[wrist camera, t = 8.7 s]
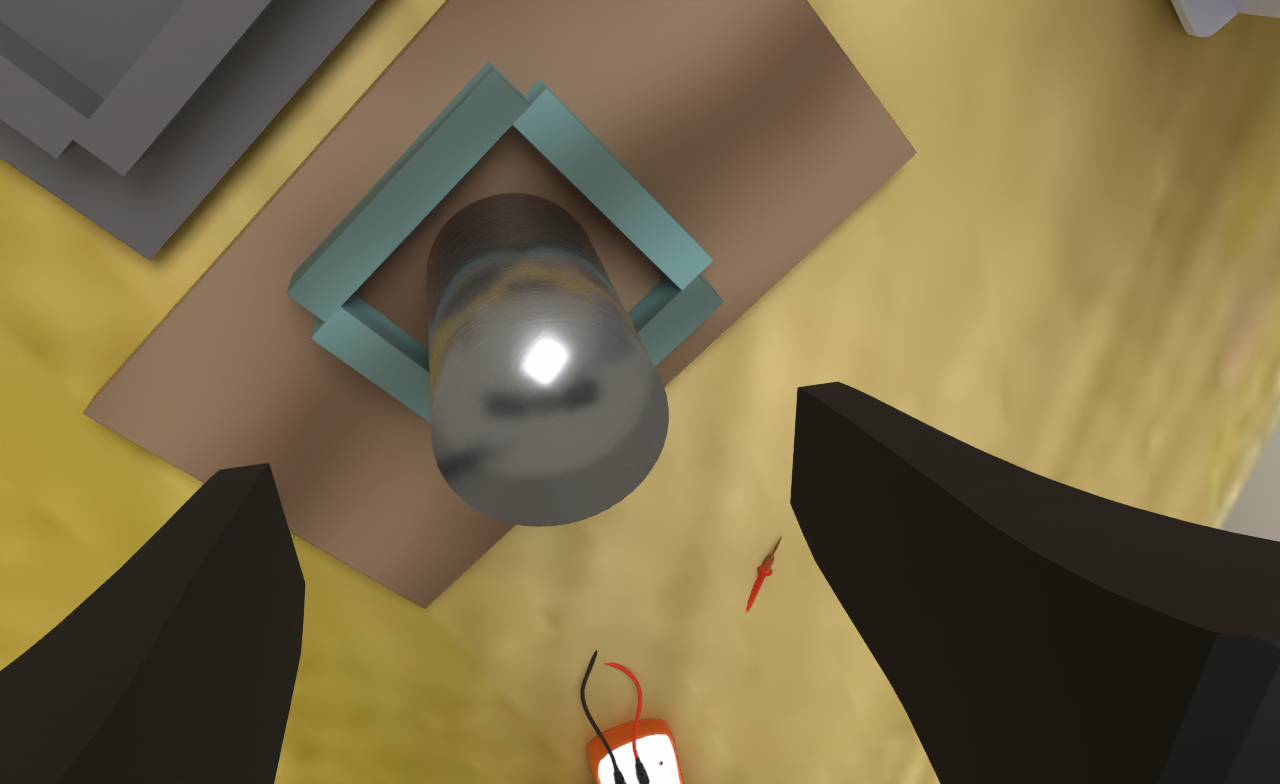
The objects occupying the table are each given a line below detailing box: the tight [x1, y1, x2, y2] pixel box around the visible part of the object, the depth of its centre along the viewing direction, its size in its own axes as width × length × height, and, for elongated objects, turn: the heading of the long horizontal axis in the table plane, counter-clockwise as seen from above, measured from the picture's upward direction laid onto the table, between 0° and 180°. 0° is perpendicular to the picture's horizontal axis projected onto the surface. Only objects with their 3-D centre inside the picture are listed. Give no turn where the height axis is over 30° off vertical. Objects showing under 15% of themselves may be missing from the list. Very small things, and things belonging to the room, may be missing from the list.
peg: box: [427, 193, 669, 526], centre depth 18 cm, size 4×4×7 cm
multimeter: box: [581, 536, 782, 784], centre depth 29 cm, size 18×12×3 cm, turn 166°
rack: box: [83, 0, 917, 609], centre depth 20 cm, size 10×18×2 cm, turn 133°
